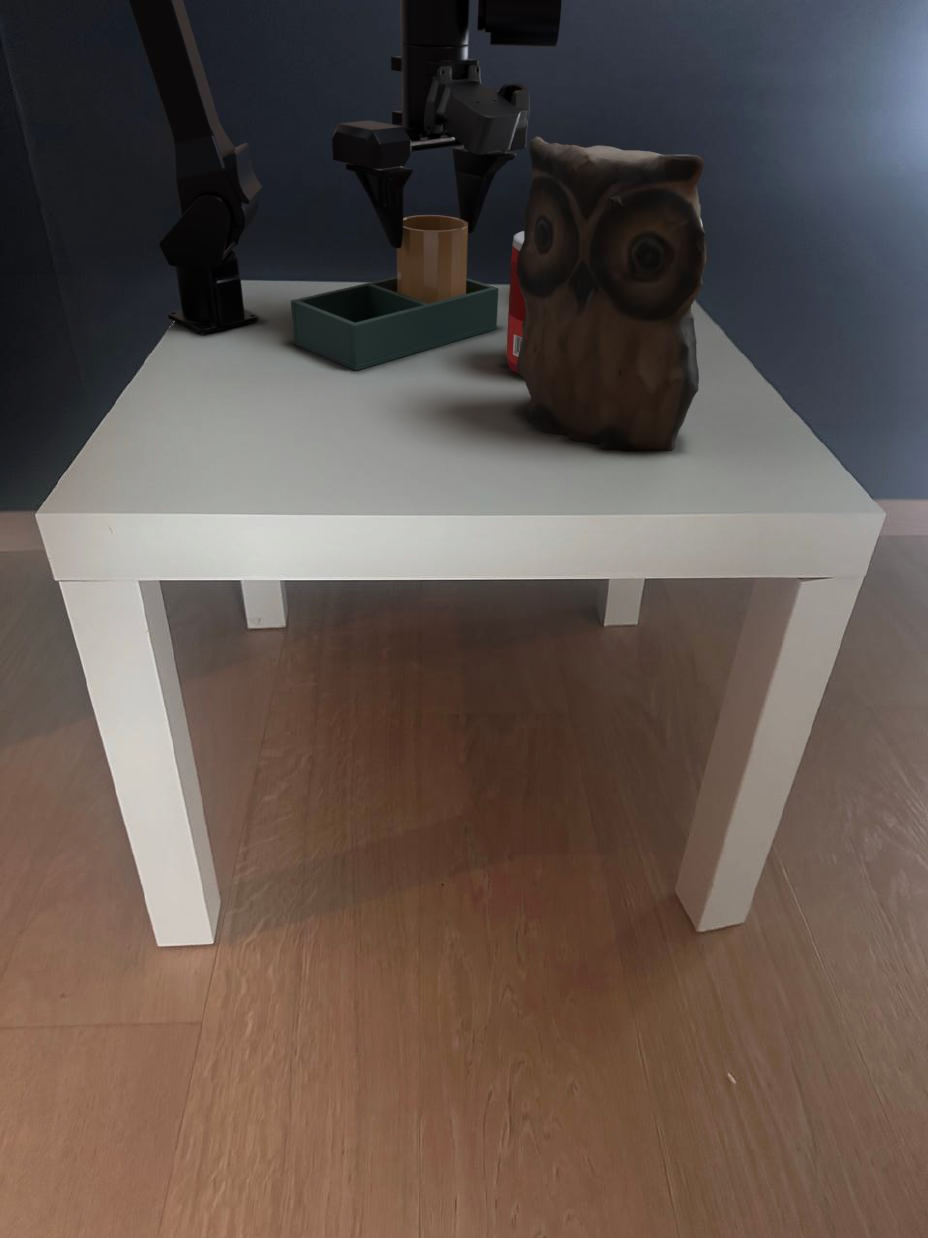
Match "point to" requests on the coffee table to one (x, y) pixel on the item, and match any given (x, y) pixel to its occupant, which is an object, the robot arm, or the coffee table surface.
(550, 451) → the coffee table surface
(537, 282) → the owl
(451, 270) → the bamboo cup
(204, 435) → the coffee table surface
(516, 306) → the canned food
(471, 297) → the divided storage box
